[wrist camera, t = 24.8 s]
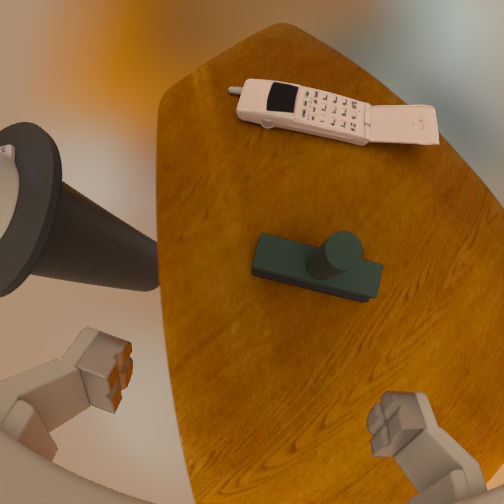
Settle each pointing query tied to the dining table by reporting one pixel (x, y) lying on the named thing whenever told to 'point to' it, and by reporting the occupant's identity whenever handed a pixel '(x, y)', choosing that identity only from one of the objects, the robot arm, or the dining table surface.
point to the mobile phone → (334, 114)
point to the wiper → (319, 265)
